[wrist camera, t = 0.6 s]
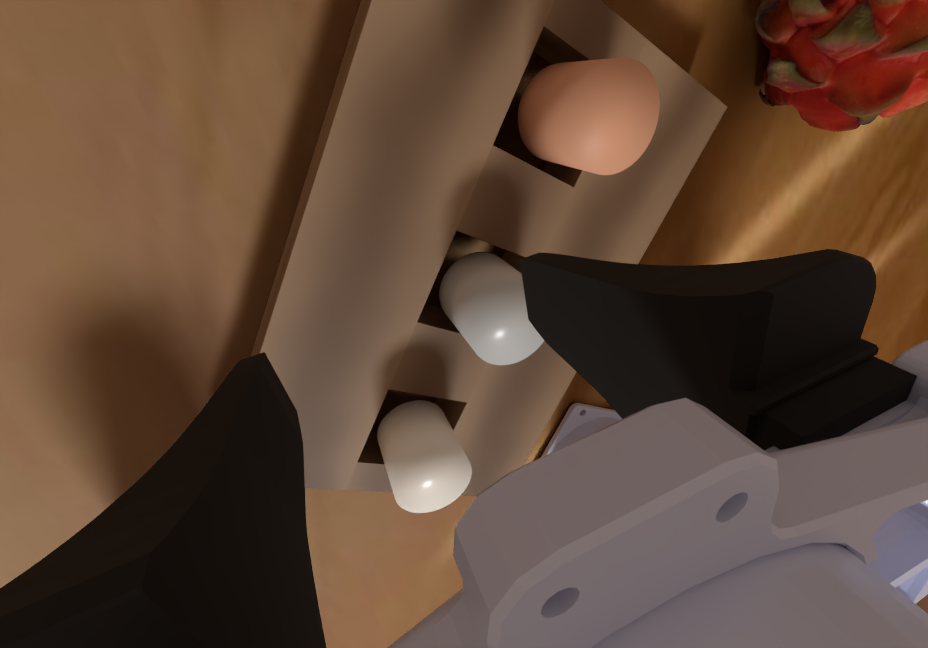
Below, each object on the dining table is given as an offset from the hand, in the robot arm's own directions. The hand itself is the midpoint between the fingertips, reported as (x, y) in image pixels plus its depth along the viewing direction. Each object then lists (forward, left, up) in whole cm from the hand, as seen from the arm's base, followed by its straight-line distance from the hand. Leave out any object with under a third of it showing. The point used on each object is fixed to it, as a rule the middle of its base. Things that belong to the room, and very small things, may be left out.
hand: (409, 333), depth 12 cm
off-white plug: (-5, +8, -7) cm, 12 cm away
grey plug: (-5, 0, -7) cm, 9 cm away
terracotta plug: (-5, -8, -7) cm, 12 cm away
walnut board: (-5, 0, -10) cm, 11 cm away
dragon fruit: (-18, -18, -10) cm, 28 cm away
